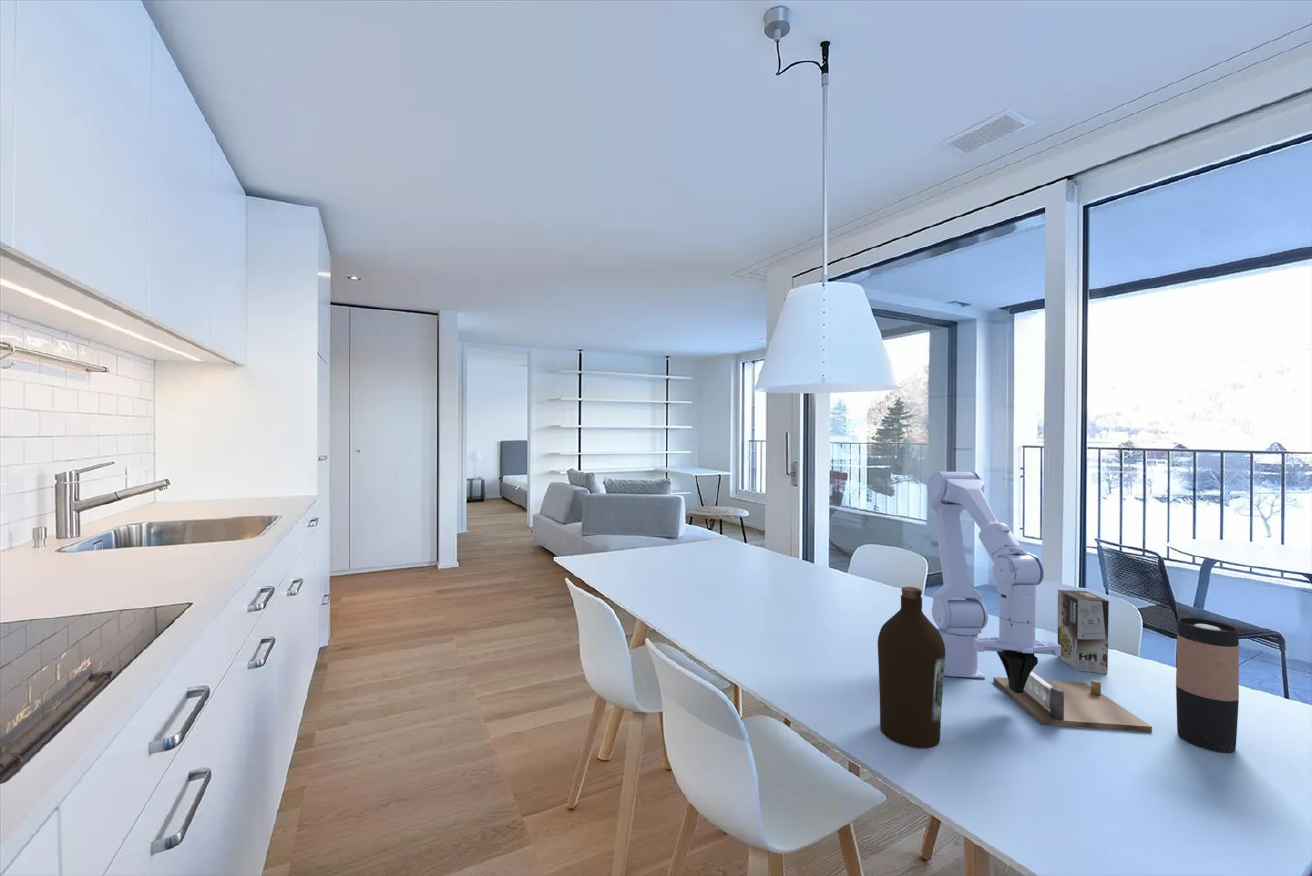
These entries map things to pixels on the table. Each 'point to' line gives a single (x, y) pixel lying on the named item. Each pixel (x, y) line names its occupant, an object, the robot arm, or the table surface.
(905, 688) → the olive oil
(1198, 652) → the travel mug
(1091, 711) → the board
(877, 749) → the table surface
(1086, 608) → the coffee box
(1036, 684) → the gate
